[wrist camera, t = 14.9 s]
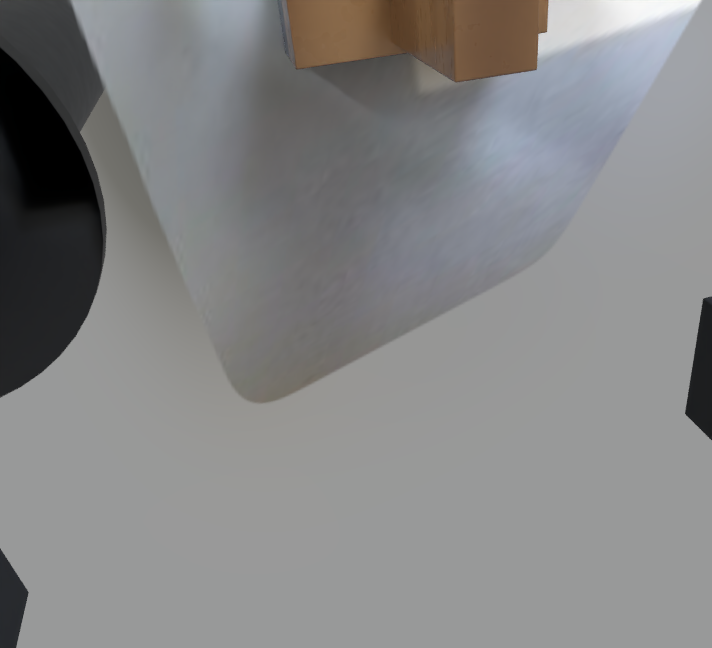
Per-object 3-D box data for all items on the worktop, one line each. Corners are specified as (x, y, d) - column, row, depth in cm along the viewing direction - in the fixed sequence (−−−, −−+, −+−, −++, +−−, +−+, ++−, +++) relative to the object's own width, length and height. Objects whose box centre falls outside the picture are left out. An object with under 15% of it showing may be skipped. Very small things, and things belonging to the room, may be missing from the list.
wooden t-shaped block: (285, 53, 34) (328, 118, 23) (272, -35, 32) (311, -13, 21) (510, 20, 36) (656, 66, 24) (511, -67, 34) (671, -62, 22)
